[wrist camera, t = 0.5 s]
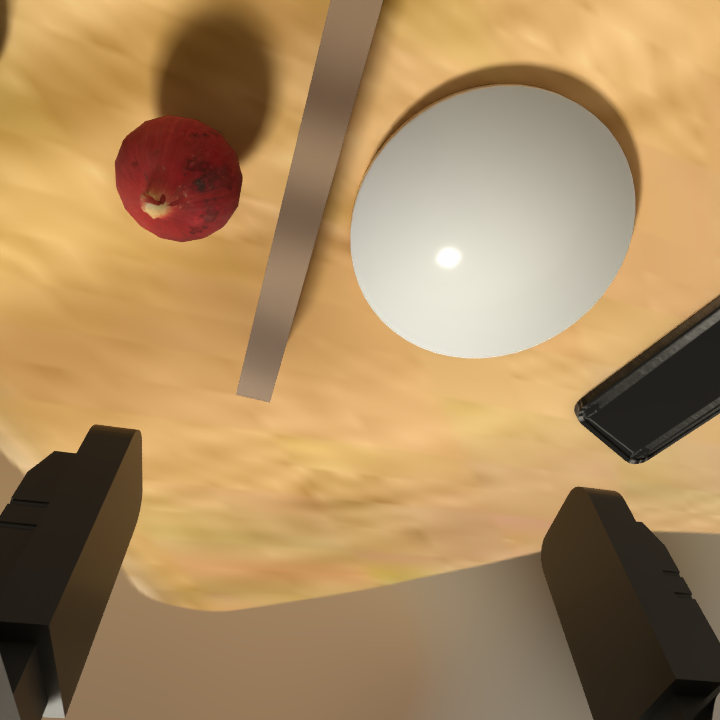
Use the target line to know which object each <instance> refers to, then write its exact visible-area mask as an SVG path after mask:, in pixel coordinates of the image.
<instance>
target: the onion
mask: <svg viewBox="0 0 720 720" xmlns="http://www.w3.org/2000/svg"><path fill="white" fill-rule="evenodd" d="M115 173H116V187H117V190H118V193H119V195H120V198H121V200H122V202H123V205H124V207H125V209H126V210H127V212H128V213H129V214H130V215H131V216H132V217H133V218H134V219H135V220H136V221H137V223H138V224H139V225H140V226H141V227H143V228H145V229H146V230H148V231H150V232H152V233H153V234H155V235H157V236H158V237H160V238H163V239H168V240H173V241H179V242H186V241H191V240H197V239H202V238H205V237H207V236H209V235H211V234H212V233H214V232H216V231H217V230H219V229H221V228H222V227H223V226H224V225H225V224H226V223H227V222H228V220H229V219H230V217H231V216H232V214H233V213H234V211H235V210H236V208H237V207H238V203H239V198H240V192H241V186H242V178H243V177H242V173H241V169H240V166H239V162H238V159H237V155H236V152H235V151H234V150H233V149H232V147H231V146H230V145H229V144H228V142H227V141H226V140H225V139H224V137H223V136H222V135H221V134H220V132H218V131H217V130H215V129H213V128H211V127H209V126H207V125H205V124H204V123H202V122H200V121H198V120H195V119H189V118H183V117H178V116H171V115H168V116H164V117H160V118H156V119H152V120H149V121H145V122H144V123H143V124H141V125H140V126H139V127H138V128H136V129H135V130H134V131H132V132H131V133H130V134H129V135H127V136H126V138H125V139H124V140H123V142H122V145H121V147H120V150H119V153H118V155H117V158H116V161H115Z"/></svg>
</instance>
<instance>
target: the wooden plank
mask: <svg viewBox="0 0 720 720" xmlns="http://www.w3.org/2000/svg"><path fill="white" fill-rule="evenodd" d="M382 3H383V0H331V1H330V5H329V9H328V14H327V18H326V22H325V26H324V30H323V34H322V39H321V43H320V47H319V51H318V55H317V59H316V64H315V68H314V72H313V76H312V80H311V84H310V89H309V93H308V97H307V101H306V105H305V109H304V114H303V118H302V122H301V126H300V130H299V134H298V139H297V143H296V147H295V151H294V155H293V160H292V164H291V168H290V172H289V176H288V180H287V185H286V189H285V193H284V197H283V201H282V205H281V210H280V214H279V218H278V222H277V226H276V230H275V235H274V239H273V243H272V247H271V251H270V255H269V260H268V264H267V268H266V272H265V276H264V280H263V285H262V289H261V293H260V297H259V301H258V305H257V310H256V314H255V318H254V322H253V326H252V330H251V335H250V339H249V343H248V347H247V351H246V355H245V360H244V364H243V368H242V372H241V376H240V380H239V385H238V389H237V393H236V395H240V396H244V397H248V398H253V399H257V400H261V401H265V402H270V400H271V397H272V393H273V390H274V386H275V382H276V379H277V375H278V372H279V368H280V365H281V361H282V358H283V354H284V351H285V347H286V343H287V340H288V336H289V333H290V329H291V326H292V322H293V319H294V315H295V311H296V308H297V304H298V301H299V297H300V294H301V290H302V287H303V283H304V280H305V276H306V272H307V269H308V265H309V262H310V258H311V255H312V251H313V248H314V244H315V241H316V237H317V233H318V230H319V226H320V223H321V219H322V216H323V212H324V209H325V205H326V201H327V198H328V194H329V191H330V187H331V184H332V180H333V177H334V173H335V170H336V166H337V162H338V159H339V155H340V152H341V148H342V145H343V141H344V138H345V134H346V131H347V127H348V123H349V120H350V116H351V113H352V109H353V106H354V102H355V99H356V95H357V91H358V88H359V84H360V81H361V77H362V74H363V70H364V67H365V63H366V60H367V56H368V52H369V49H370V45H371V42H372V38H373V35H374V31H375V28H376V24H377V21H378V17H379V13H380V10H381V6H382Z"/></svg>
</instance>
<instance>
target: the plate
mask: <svg viewBox="0 0 720 720" xmlns="http://www.w3.org/2000/svg"><path fill="white" fill-rule="evenodd" d="M634 220H635V190H634V183H633V177H632V174H631V171H630V167H629V164H628V161H627V159H626V157H625V155H624V153H623V151H622V149H621V147H620V145H619V143H618V142H617V140H616V139H615V137H614V136H613V135H612V133H611V132H610V130H609V129H608V128H607V127H606V126H605V125H604V124H603V123H602V122H601V121H600V120H599V119H598V118H597V117H596V116H595V115H594V114H592V113H591V112H589V111H588V110H586V109H585V108H584V107H582V106H581V105H579V104H578V103H576V102H574V101H572V100H570V99H568V98H566V97H564V96H562V95H560V94H558V93H556V92H552V91H549V90H546V89H543V88H539V87H535V86H528V85H521V84H492V85H485V86H478V87H473V88H470V89H466V90H463V91H459V92H456V93H453V94H451V95H449V96H447V97H444V98H442V99H440V100H437V101H435V102H434V103H432V104H430V105H429V106H427V107H425V108H424V109H422V110H420V111H419V112H417V113H416V114H415V115H413V116H412V117H411V118H410V119H408V120H407V121H406V122H405V123H403V124H402V125H401V126H400V127H399V128H398V129H397V130H396V131H395V132H394V133H393V134H392V135H391V136H390V137H389V138H388V139H387V140H386V142H385V143H384V144H383V146H382V147H381V148H380V150H379V151H378V152H377V154H376V155H375V156H374V158H373V160H372V161H371V163H370V165H369V167H368V168H367V170H366V172H365V174H364V176H363V179H362V181H361V184H360V186H359V189H358V191H357V195H356V199H355V202H354V206H353V211H352V219H351V255H352V261H353V267H354V271H355V274H356V278H357V281H358V284H359V286H360V288H361V290H362V292H363V295H364V297H365V298H366V300H367V301H368V303H369V305H370V306H371V308H372V309H373V311H374V312H375V313H376V314H377V315H378V317H379V318H380V319H381V320H382V321H383V322H384V323H385V324H386V325H387V326H388V327H389V328H391V329H392V330H393V331H394V332H395V333H397V334H398V335H400V336H401V337H402V338H404V339H405V340H407V341H409V342H411V343H413V344H415V345H417V346H419V347H421V348H423V349H426V350H429V351H432V352H434V353H438V354H442V355H447V356H451V357H460V358H489V357H498V356H503V355H508V354H512V353H517V352H520V351H523V350H526V349H529V348H531V347H534V346H536V345H538V344H541V343H543V342H545V341H547V340H549V339H551V338H552V337H554V336H556V335H558V334H559V333H561V332H563V331H564V330H566V329H567V328H568V327H570V326H571V325H572V324H574V323H575V322H576V321H578V320H579V319H580V318H581V317H582V316H583V315H584V314H585V313H587V312H588V311H589V310H590V309H591V308H592V307H593V306H594V304H595V303H596V302H597V301H598V300H599V299H600V298H601V297H602V295H603V294H604V293H605V291H606V290H607V288H608V287H609V286H610V284H611V283H612V281H613V280H614V278H615V276H616V274H617V272H618V271H619V269H620V267H621V265H622V263H623V260H624V258H625V255H626V253H627V251H628V248H629V244H630V241H631V237H632V233H633V228H634Z"/></svg>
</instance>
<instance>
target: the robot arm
mask: <svg viewBox="0 0 720 720" xmlns="http://www.w3.org/2000/svg"><path fill="white" fill-rule="evenodd" d="M141 501H142V436H141V432H140V430H135V429H127V428H119V427H111V426H103V425H93V426H92V427H91V428H90V430H89V432H88V433H87V435H86V437H85V439H84V441H83V442H82V444H81V446H80V448H79V450H78V452H77V453H67V452H59V451H54V452H53V453H52V454H50V455H49V456H48V457H46V458H45V459H44V460H42V461H41V462H40V463H39V464H37V465H36V466H35V467H33V468H32V469H31V470H29V471H28V472H27V474H26V475H25V477H24V478H23V480H22V482H21V483H20V485H19V486H18V488H17V490H16V491H15V493H14V494H13V496H12V498H11V502H10V504H7V506H6V507H5V509H4V510H3V512H2V514H1V515H0V720H41V719H42V717H55V718H65V717H66V714H67V711H68V708H69V705H70V703H71V700H72V697H73V694H74V692H75V689H76V687H77V684H78V681H79V678H80V676H81V673H82V670H83V668H84V665H85V662H86V659H87V656H88V654H89V651H90V648H91V646H92V643H93V641H94V638H95V635H96V632H97V630H98V627H99V624H100V622H101V619H102V616H103V613H104V611H105V608H106V605H107V603H108V600H109V597H110V594H111V592H112V589H113V586H114V584H115V581H116V578H117V575H118V573H119V570H120V567H121V565H122V562H123V559H124V556H125V554H126V551H127V548H128V546H129V543H130V540H131V537H132V535H133V532H134V529H135V526H136V523H137V520H138V516H139V512H140V507H141ZM541 562H542V568H543V571H544V574H545V578H546V581H547V584H548V587H549V590H550V592H551V595H552V598H553V601H554V604H555V607H556V610H557V613H558V616H559V619H560V622H561V625H562V628H563V631H564V633H565V637H566V640H567V643H568V646H569V648H570V651H571V654H572V657H573V660H574V663H575V666H576V669H577V672H578V675H579V678H580V681H581V684H582V687H583V690H584V693H585V696H586V699H587V702H588V705H589V708H590V711H591V714H592V716H593V719H594V720H720V642H719V641H718V639H717V637H716V635H715V633H714V632H713V630H712V628H711V626H710V625H709V623H708V621H707V620H706V618H705V616H704V614H703V613H702V611H701V609H700V607H699V605H698V603H697V602H696V600H695V599H692V597H691V595H692V593H691V591H690V589H689V588H688V586H687V584H686V582H685V580H684V579H683V578H682V577H680V576H679V570H678V568H677V566H676V565H675V563H674V561H673V559H672V557H671V556H670V554H669V552H668V550H667V549H666V547H665V545H664V544H663V543H662V542H661V541H660V540H659V539H658V538H657V537H656V536H655V535H654V534H653V533H652V532H651V531H650V530H649V529H648V528H647V527H646V526H645V525H644V524H643V523H642V522H636V520H635V519H634V517H633V515H632V513H631V511H630V509H629V507H628V506H627V504H626V502H625V500H624V498H623V497H622V496H621V495H620V494H619V493H618V492H616V491H610V490H602V489H594V488H586V487H575V488H573V489H572V490H571V492H570V493H569V495H568V496H567V498H566V500H565V502H564V504H563V505H562V507H561V509H560V511H559V512H558V514H557V516H556V518H555V519H554V521H553V523H552V525H551V527H550V528H549V530H548V532H547V534H546V536H545V538H544V540H543V544H542V550H541Z"/></svg>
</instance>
